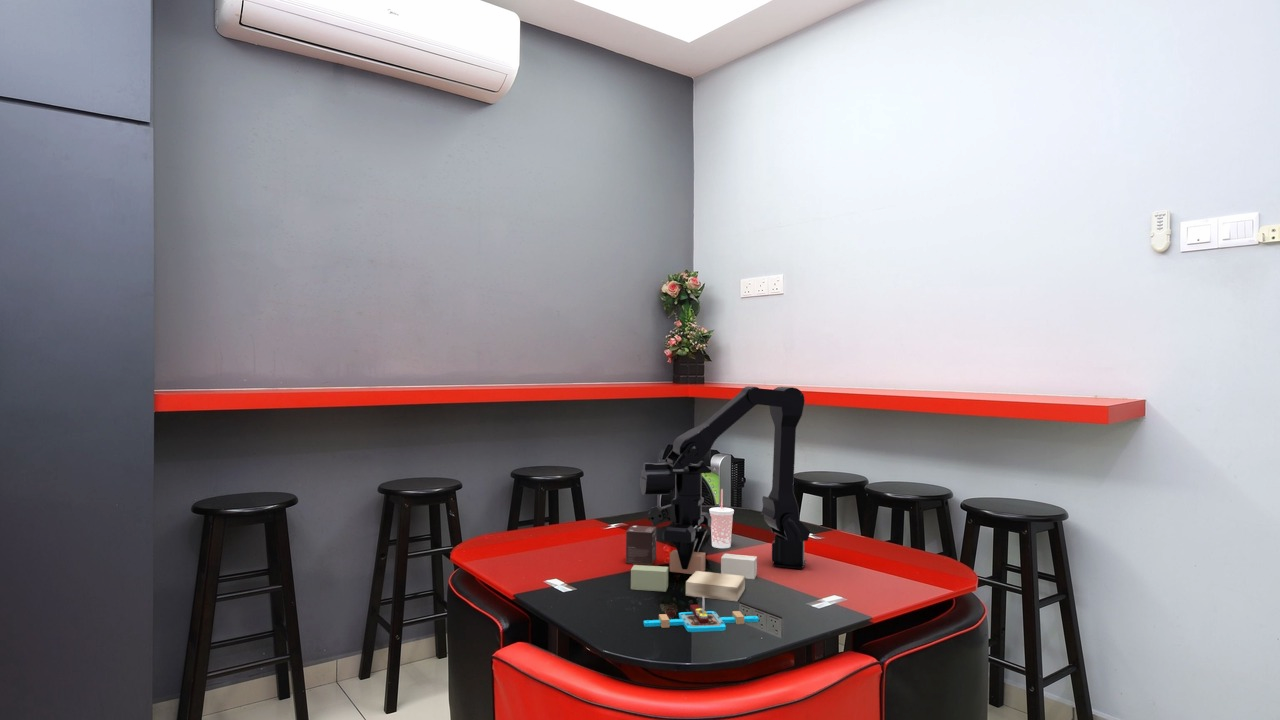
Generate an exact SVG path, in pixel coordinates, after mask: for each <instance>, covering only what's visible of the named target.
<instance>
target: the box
mask: <svg viewBox="0 0 1280 720" xmlns="http://www.w3.org/2000/svg"><path fill="white" fill-rule="evenodd" d="M625 532H626V533H625V535H626V537H625V563H626V564H633V565H646V566H652V565H653V564H654V562H655V561H656V559H657V526H654V527H653V526H646V525H645V526H644V525H643V526H642V525H631V526H630V527H628V529H627V530H626V531H625Z"/></svg>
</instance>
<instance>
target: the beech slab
mask: <svg viewBox="0 0 1280 720" xmlns="http://www.w3.org/2000/svg"><path fill="white" fill-rule="evenodd" d="M745 586H746V578H745V576H740V575H730V574H721V572H720V573H719V572H711V571H704V572H702V571H695V573H694V574H691V576H689V578H688V579H687V580H685V596H688V597H694V598H702V597H705V599H712V600H713V599H714V600H721V601H731V602H738V600H740V598H741V596H742V595H743V593H744V592H745V589H746V587H745Z"/></svg>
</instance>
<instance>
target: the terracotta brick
mask: <svg viewBox="0 0 1280 720" xmlns="http://www.w3.org/2000/svg"><path fill="white" fill-rule="evenodd" d="M695 571H702V572H706V552H701V551H700V552H699V551H698V552H693V554H692V557H691V560H690V563H689V566H688V568H687V569H682V567H681V563H680V559H679V555H678V552H677V549H673V550H672V551H671V552H669V572H671V573H679V574H680V573H681V574H688V575H689V574H690V575H693V574H694V573H695Z"/></svg>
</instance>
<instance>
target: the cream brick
mask: <svg viewBox="0 0 1280 720" xmlns="http://www.w3.org/2000/svg"><path fill="white" fill-rule="evenodd" d="M720 559H721V560H720V573H721V574H730V575H740V576H745V579H749V580H755V579H756V577H757V576H758V573H757V572H758V571H757V570H758V556H756V555H746V554H745V555H743V554H733V553H723V554H722V556H721V557H720Z"/></svg>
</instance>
